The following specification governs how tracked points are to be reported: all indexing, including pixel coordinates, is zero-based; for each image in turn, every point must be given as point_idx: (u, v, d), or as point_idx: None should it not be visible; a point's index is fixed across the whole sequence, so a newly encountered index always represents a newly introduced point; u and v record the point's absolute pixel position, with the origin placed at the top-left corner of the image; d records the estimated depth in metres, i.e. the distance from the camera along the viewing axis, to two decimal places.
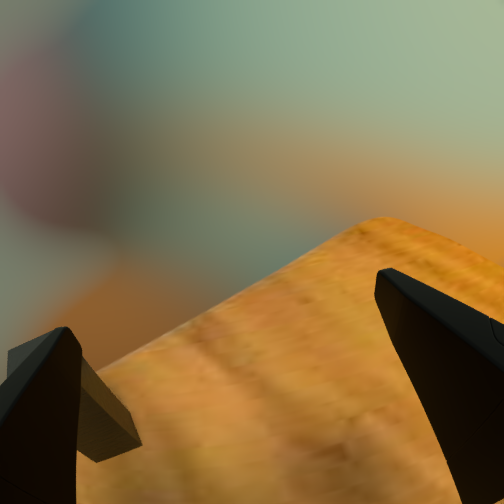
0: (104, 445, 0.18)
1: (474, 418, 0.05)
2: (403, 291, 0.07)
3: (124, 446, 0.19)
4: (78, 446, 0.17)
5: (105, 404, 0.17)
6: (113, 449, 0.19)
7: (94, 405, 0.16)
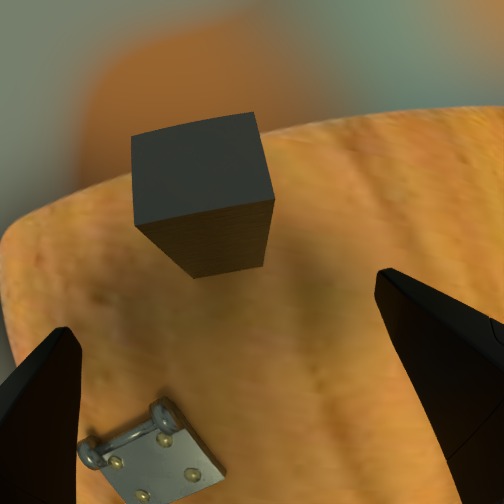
0: (223, 266, 0.18)
1: (474, 418, 0.05)
2: (403, 291, 0.07)
3: (243, 266, 0.19)
4: (190, 268, 0.17)
5: None
6: (228, 269, 0.19)
7: (261, 235, 0.14)
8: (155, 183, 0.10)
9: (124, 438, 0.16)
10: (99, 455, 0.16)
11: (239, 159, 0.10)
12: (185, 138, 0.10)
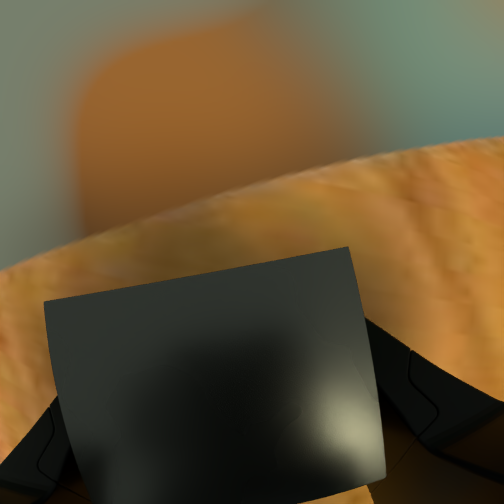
0: None
1: (389, 459, 0.05)
2: None
3: None
4: None
5: None
6: None
7: None
8: (116, 444, 0.04)
9: None
10: None
11: (317, 400, 0.04)
12: (170, 331, 0.04)
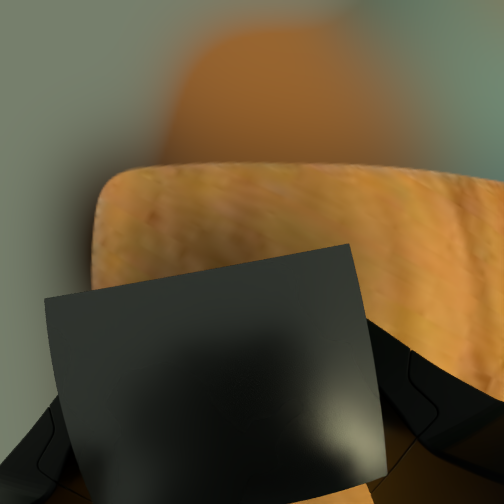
0: None
1: (389, 459, 0.05)
2: None
3: None
4: None
5: None
6: None
7: None
8: (117, 442, 0.04)
9: None
10: None
11: (319, 397, 0.04)
12: (171, 328, 0.04)
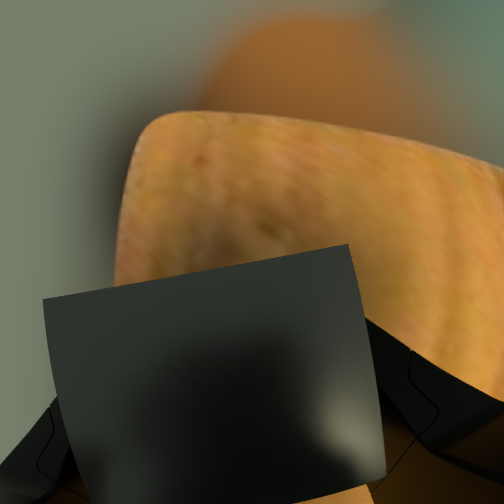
0: None
1: (388, 459, 0.05)
2: None
3: None
4: None
5: None
6: None
7: None
8: (115, 442, 0.04)
9: None
10: None
11: (317, 397, 0.04)
12: (169, 329, 0.04)
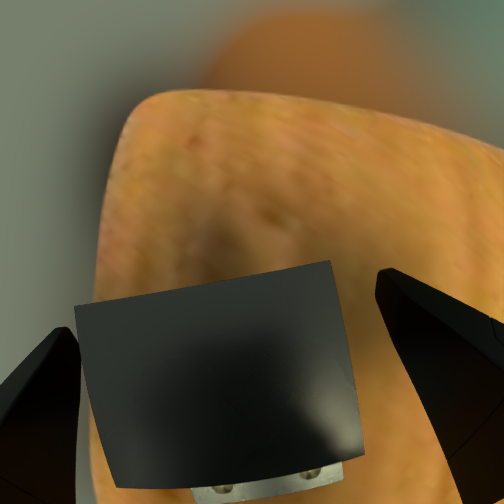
0: None
1: (475, 418, 0.05)
2: (404, 291, 0.07)
3: None
4: None
5: None
6: None
7: None
8: (137, 425, 0.04)
9: None
10: None
11: (303, 385, 0.05)
12: (184, 329, 0.05)
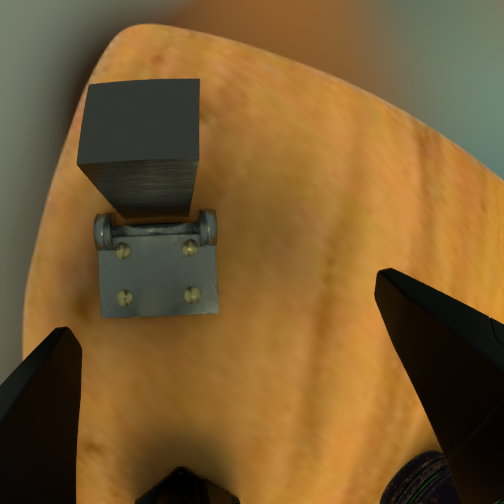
0: (152, 211, 0.19)
1: (474, 418, 0.05)
2: (403, 291, 0.07)
3: (171, 214, 0.20)
4: (121, 208, 0.17)
5: None
6: (156, 214, 0.20)
7: (187, 188, 0.14)
8: (101, 130, 0.10)
9: (153, 228, 0.19)
10: (112, 235, 0.19)
11: (176, 119, 0.11)
12: (134, 93, 0.10)
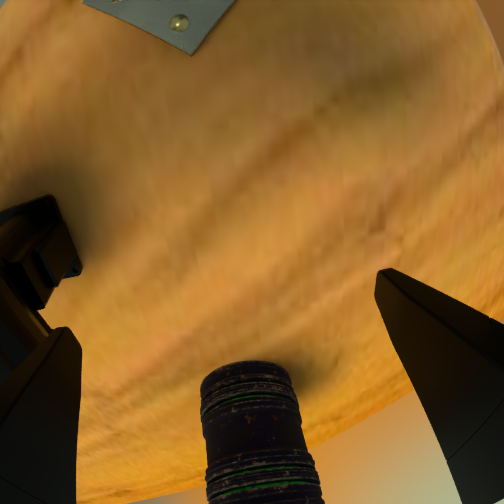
0: None
1: (474, 418, 0.05)
2: (403, 291, 0.07)
3: None
4: None
5: None
6: None
7: None
8: None
9: None
10: None
11: None
12: None
